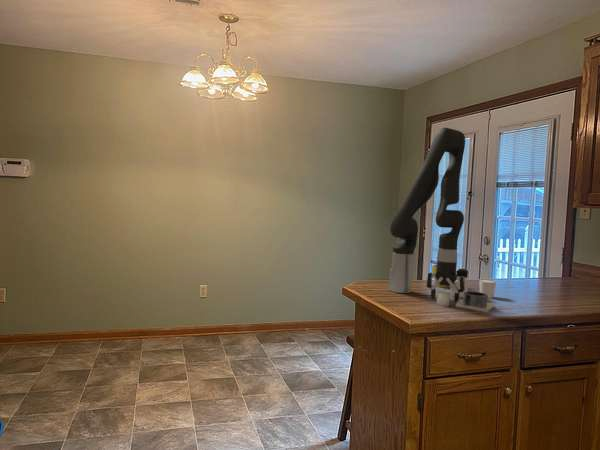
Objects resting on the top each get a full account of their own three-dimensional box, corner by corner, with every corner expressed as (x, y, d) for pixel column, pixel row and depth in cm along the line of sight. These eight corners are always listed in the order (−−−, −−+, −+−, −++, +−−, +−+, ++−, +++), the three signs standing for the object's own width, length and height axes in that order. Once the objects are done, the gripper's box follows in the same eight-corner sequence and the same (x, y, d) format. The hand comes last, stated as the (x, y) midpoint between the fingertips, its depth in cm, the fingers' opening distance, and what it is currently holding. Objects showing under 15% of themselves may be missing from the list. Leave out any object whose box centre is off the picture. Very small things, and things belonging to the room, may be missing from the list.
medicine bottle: (467, 295, 202) (469, 268, 201) (467, 298, 195) (469, 271, 194) (450, 293, 204) (452, 267, 204) (450, 296, 198) (452, 269, 197)
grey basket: (455, 306, 179) (456, 293, 179) (462, 301, 189) (463, 289, 189) (488, 312, 173) (489, 298, 172) (493, 306, 183) (494, 293, 183)
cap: (434, 304, 181) (435, 292, 181) (438, 302, 185) (439, 290, 185) (447, 307, 178) (448, 294, 178) (450, 304, 183) (451, 292, 182)
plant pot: (427, 283, 225) (428, 264, 224) (447, 284, 226) (448, 264, 226) (435, 288, 215) (437, 267, 214) (456, 288, 216) (458, 268, 215)
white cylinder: (496, 299, 197) (497, 283, 197) (479, 297, 199) (480, 281, 198) (492, 295, 204) (494, 280, 203) (476, 294, 205) (478, 279, 205)
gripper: (467, 261, 180) (465, 301, 181) (431, 257, 188) (429, 296, 189) (463, 263, 174) (460, 305, 175) (426, 259, 181) (424, 299, 182)
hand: (444, 300), depth 182 cm, fingers open, 8 cm apart
